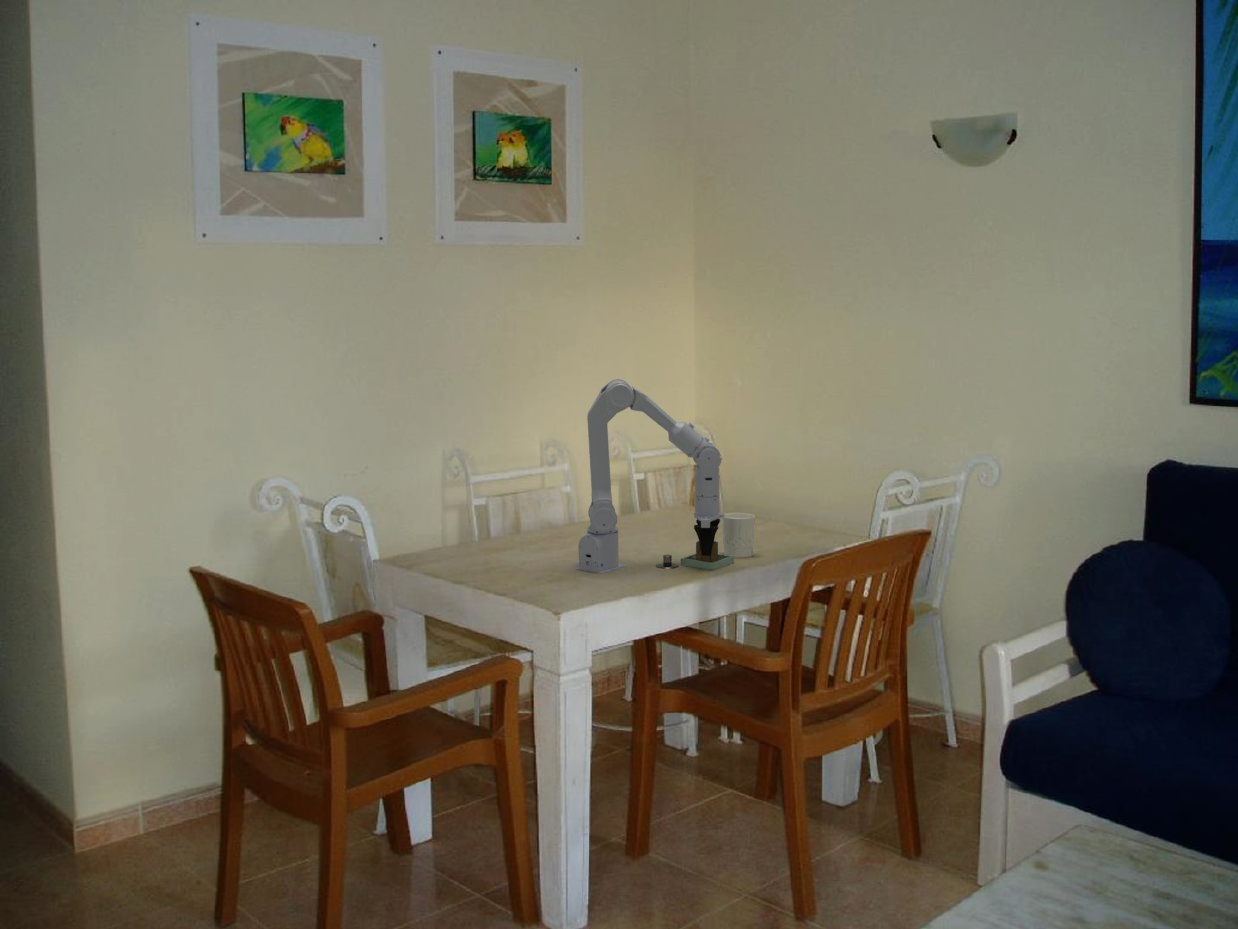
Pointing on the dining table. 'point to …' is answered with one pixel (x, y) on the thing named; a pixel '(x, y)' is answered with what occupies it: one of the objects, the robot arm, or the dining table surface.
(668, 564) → the dark grey round stand
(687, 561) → the tray
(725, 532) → the white cup
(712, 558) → the brown hollow octagonal cylinder
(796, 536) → the dining table surface
